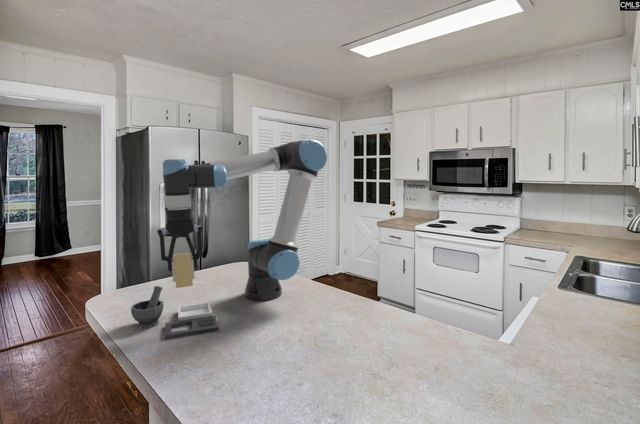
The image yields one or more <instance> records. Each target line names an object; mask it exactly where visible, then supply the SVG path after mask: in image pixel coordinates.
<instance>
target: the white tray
mask: <svg viewBox="0 0 640 424" xmlns="http://www.w3.org/2000/svg"><path fill="white" fill-rule="evenodd" d="M209 316H213V310H212V307H211V303H210V302H209V301H207V302H201V303H194V304H184V305H178V306H177V321H183V320H189V319H196V318H203V317H209Z"/></svg>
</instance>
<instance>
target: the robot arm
mask: <svg viewBox="0 0 640 424" xmlns="http://www.w3.org/2000/svg"><path fill="white" fill-rule="evenodd" d="M327 160H328V155H327V150H326V148H325V146H324V145H323V144H322V143H321V142H320V141H318V140H315V139H309V138H307V139H303V140H297V141H291V142H287V143H285V144H281V145H279V146H274V147H270V148H268V150H266V151H263V152H258V153H251V154H247V155H243V156H238V157H232V158H227V159H221V160H216V161H211V162H207V163H201V164H195V165H193V164H192V165H190V164H189V161H188V159H186V158H185V159H182V158H175V159H173V158H170V159H168V158H167V159H164V161H163V162H162V177H163V178H162V179H163V189H164V202H165V203H164V204H165V209H166V211H165V213H166V215H165V216H166V217H165V218H166V225H165V226H164V227H162V228H158V229H157V235H158V236H159V246H160V248H159V249H160V259H161V261H165V262H167V268H168V269H167V270H168V272H171V273H172V282H173V283H176V280H175V267H174V259H173V257H174V250H175V246H176V241H177V239H180V238H185V240H186V242H187V245H188V248H189V251H190V255H192V257H191V267H192V280H195V269H197V268H198V258H199V257H202V256H203V246H202V245H203V242H202V230H203V226H202V225H197V224H194V222H193V217H192V216H193V215H192V208H190V207H191V206H192V200H191V199H192V198H191V190H193V189H217V188H224V187H225V186H226V185H227V183H228V182H227V181H228V180H232V179H238V178H242V177H245V176H251V175H255V174H260V173H264V172H269V171H273V172H276V173H277V172H279V171H287V173H288V175H289V178H288V181H287V186H286V189H285V191H284V196H283V200H282V204H281V208H280V211H279V215H278V219H277V223H276V226H275V230H274V234H273V236H272V237H270V238H263V239H254V240H253V239H252V240H250V241H249V242H248V243H247V263H248V264H247V265H248V269H247V271H248V279H247V282H246V285H245V289H244V297H245V298H246V299H249V300H250V301H269V300H274V299H277V298H279V297H280V296H281V295H282V294H283V293H282V291H283V289H282V285H281V283H280V281H286V280H290V279H291V278H292V277H294V276H295V275H296V274H297V272H298V270H299V267H300V265H301V264H300V263H301V262H300V257H299V255H298V250H299V245H298V243H297V237H298V233H299V229H300V227H301V222H302V219H303V215H304V212H305V211H304V210H305V206H306V203H307V201H308V200H307V199H308V195H309V192H310V188H311V183H312V182H313V181H314V180H316V179H317V178H318V173H319V171H320V170H322V169H324V167H325V166H326V164H327ZM193 229H194V232H195V233H196V234H195V235H196V243H197V244H196V245H197V246H196V247H197V252H196V250H195V248H194V245H193V243H192V239H191V235H190V233H191V232H192V231H193ZM166 231H167V232H168V233H169V234H170V235H171V240H170V244H169V245H170V246H169V249H168V255H166V248H165V236H166Z"/></svg>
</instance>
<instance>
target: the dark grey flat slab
mask: <svg viewBox="0 0 640 424" xmlns="http://www.w3.org/2000/svg"><path fill="white" fill-rule="evenodd" d="M186 326H191V328H189V329H188V328H187V329H182V330H178V331H177V330H176V331H173V329H174V328H179V327H186ZM219 330H220V329H219V324H218V321H217V317H216V315H212V316H209V317H203V318H196V319H189V320H183V321H178V320H177V321H172V322H171V321H168V322H165V326H164V340H170V339H175V338H183V337H190V336H195V335H200V334H206V333H212V332H218V331H219Z"/></svg>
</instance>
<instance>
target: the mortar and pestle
mask: <svg viewBox="0 0 640 424" xmlns="http://www.w3.org/2000/svg"><path fill="white" fill-rule="evenodd" d="M163 289H164V288H163V287H161V286H159V285H154V287H153V292H152V294H151V296H150V299H148V300H142V301H138V302H137V303H134V304H132V305H131V307H130V313H131V316H132V317H133V319H134V320H135V321H136V322H138V327H139V329H150V328H154V327H157V326H158V325H159V324H160V321H159V319H160V318H161V316H162V313H163V311H164V301H163V300H161V299H160V296H161V292H162V291H163Z"/></svg>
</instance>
